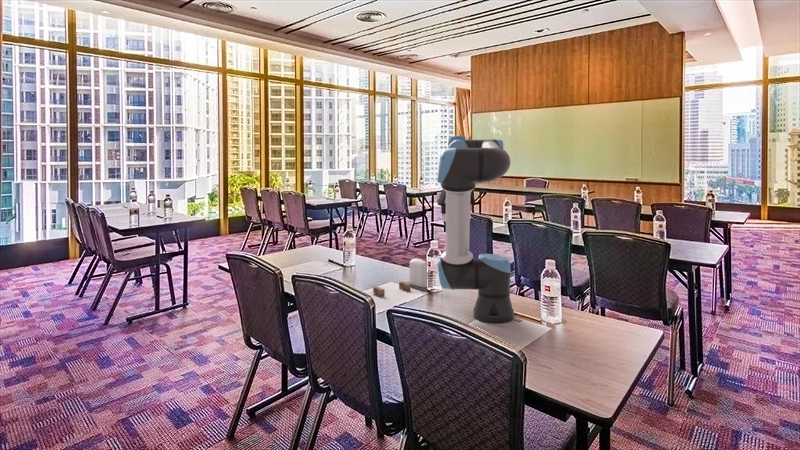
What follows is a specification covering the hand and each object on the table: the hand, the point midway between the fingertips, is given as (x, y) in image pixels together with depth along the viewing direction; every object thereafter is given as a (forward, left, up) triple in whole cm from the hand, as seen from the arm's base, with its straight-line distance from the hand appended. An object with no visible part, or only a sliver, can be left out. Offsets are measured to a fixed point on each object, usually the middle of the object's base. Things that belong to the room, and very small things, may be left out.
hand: (456, 220), depth 220 cm
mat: (+14, +11, -32) cm, 36 cm away
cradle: (+14, +26, -32) cm, 43 cm away
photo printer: (+14, +11, -31) cm, 36 cm away
